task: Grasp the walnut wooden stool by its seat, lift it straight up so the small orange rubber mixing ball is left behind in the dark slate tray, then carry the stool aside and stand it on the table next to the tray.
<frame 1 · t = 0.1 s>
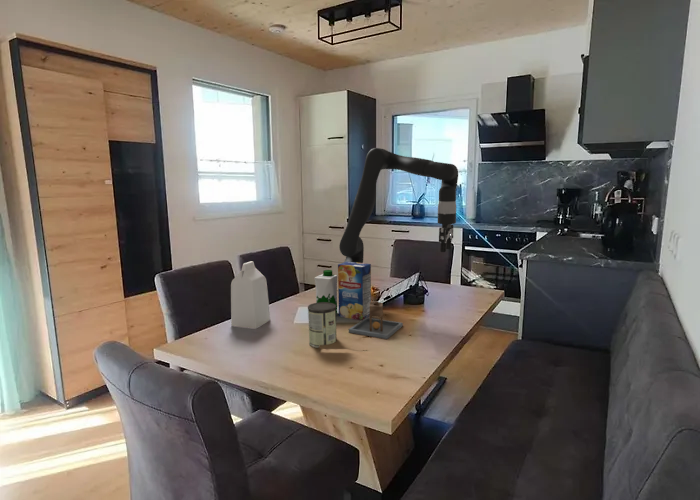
hand: (445, 250, 179), 29 cm above the table, fingers open, 8 cm apart
wooden stool: (376, 329, 166), point 1 cm above the table, touching tray
tray: (376, 332, 166), on the table
juice carton: (354, 319, 183), on the table
milk: (251, 323, 179), on the table
ball: (376, 325, 166), point 3 cm above the table, touching tray
milk carton: (326, 316, 187), on the table
coffee can: (322, 343, 156), on the table
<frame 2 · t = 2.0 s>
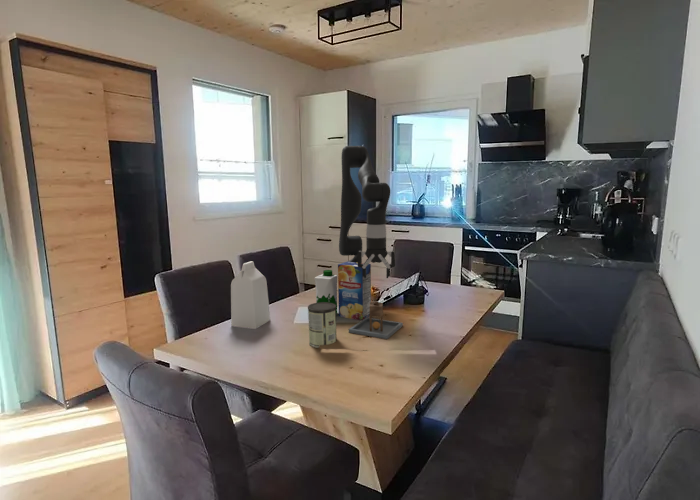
hand: (376, 277, 163), 22 cm above the table, fingers open, 8 cm apart
nothing on the table moved.
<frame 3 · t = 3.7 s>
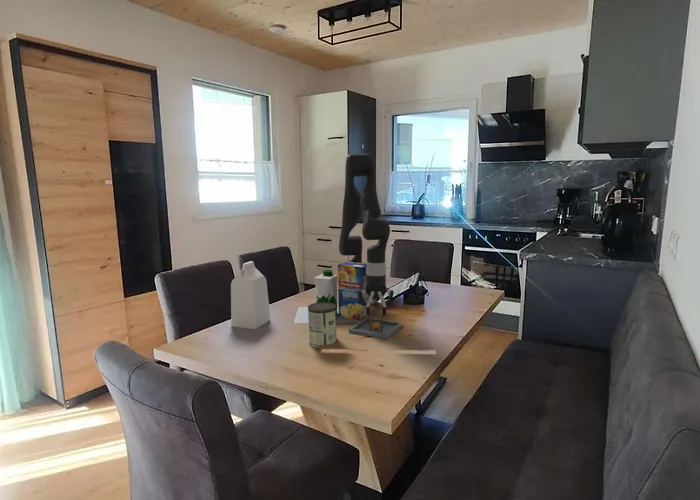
hand: (376, 315, 165), 7 cm above the table, fingers closed on wooden stool, 5 cm apart
wooden stool: (376, 329, 166), point 1 cm above the table, touching gripper, tray
everything else where it was.
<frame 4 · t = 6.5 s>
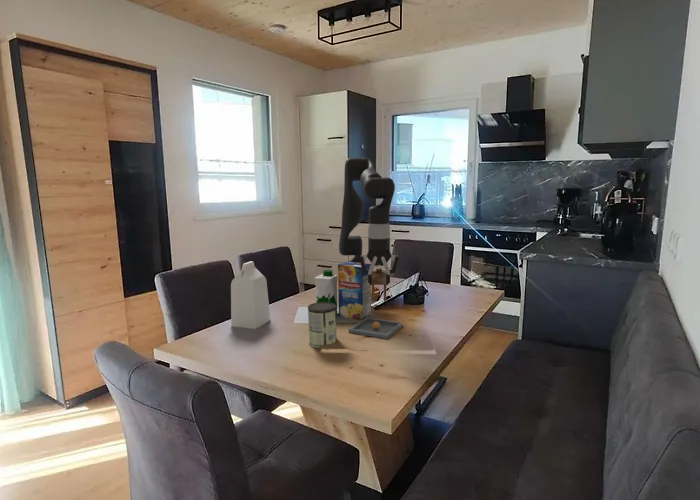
hand: (379, 284, 148), 23 cm above the table, fingers closed on wooden stool, 5 cm apart
wooden stool: (379, 299, 149), point 17 cm above the table, touching gripper
everything else where it was.
when the fingers open (7 cm above the table, at t = 9.3 s): wooden stool drops 1 cm, on the table.
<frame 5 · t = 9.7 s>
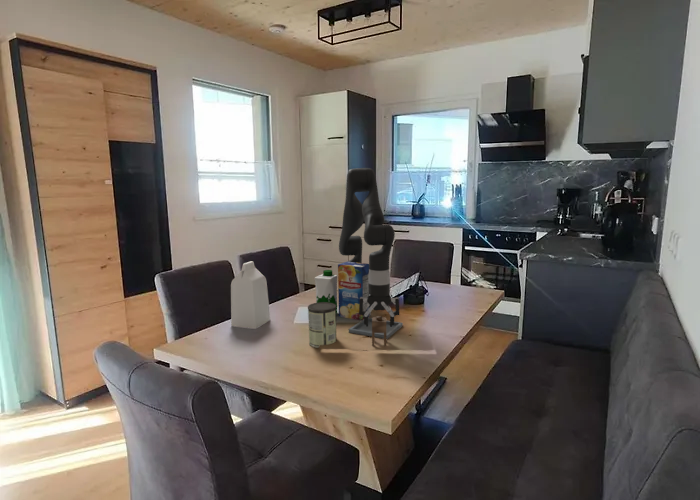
hand: (379, 326, 150), 8 cm above the table, fingers open, 8 cm apart
wooden stool: (379, 346, 152), on the table
everything else where it was.
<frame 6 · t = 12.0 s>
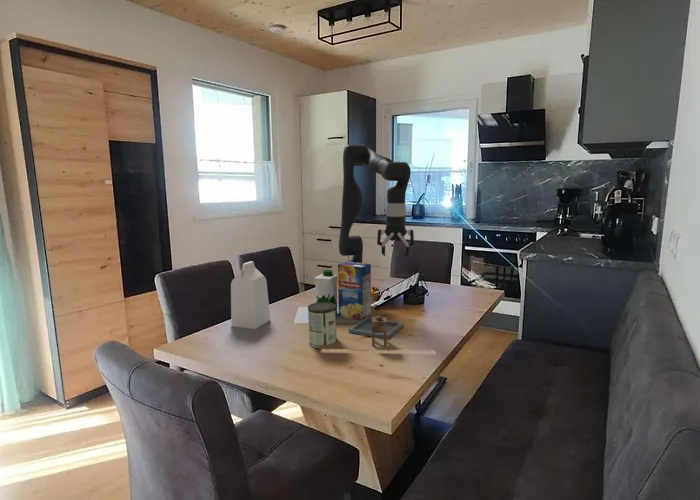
hand: (395, 255, 166), 29 cm above the table, fingers open, 8 cm apart
nothing on the table moved.
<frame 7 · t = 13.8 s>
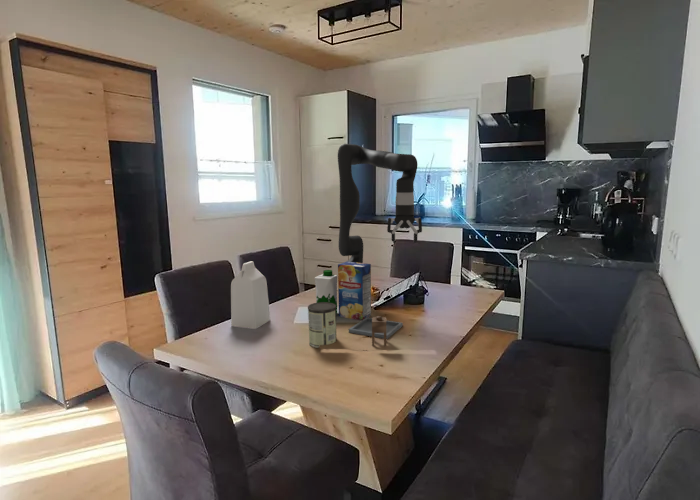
hand: (404, 242, 177), 33 cm above the table, fingers open, 8 cm apart
nothing on the table moved.
at the end: ball inside the target area on the tray (0.0 cm from its centre), point 2.7 cm above the tray's base; wooden stool inside the target area (0.0 cm from its centre), on the table; wooden stool tilted 0° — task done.
